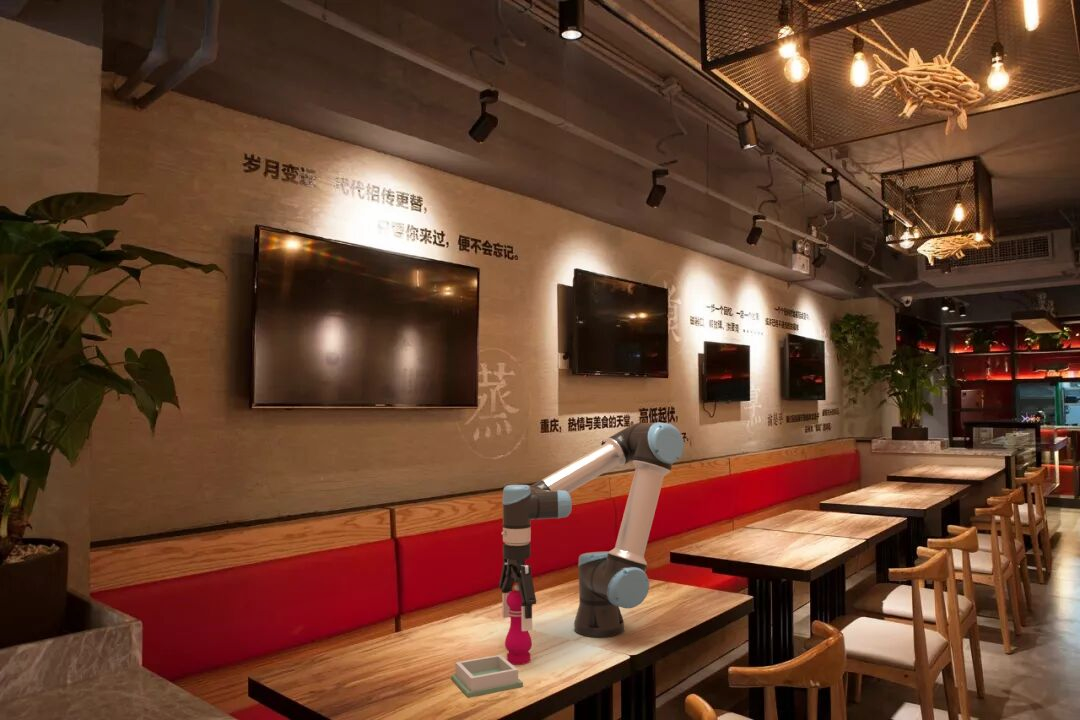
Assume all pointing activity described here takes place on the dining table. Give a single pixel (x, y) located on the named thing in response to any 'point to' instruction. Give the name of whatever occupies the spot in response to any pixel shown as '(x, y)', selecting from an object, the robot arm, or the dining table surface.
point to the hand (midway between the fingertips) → (516, 623)
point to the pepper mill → (517, 631)
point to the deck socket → (486, 676)
